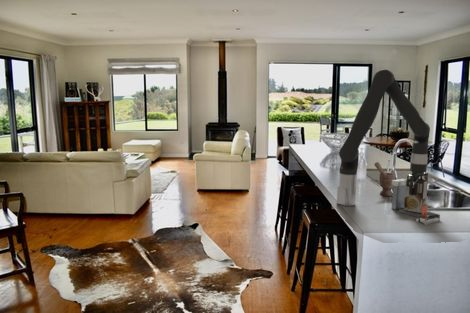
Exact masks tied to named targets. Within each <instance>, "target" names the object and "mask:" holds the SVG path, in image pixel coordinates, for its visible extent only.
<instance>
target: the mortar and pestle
mask: <svg viewBox="0 0 470 313" xmlns="http://www.w3.org/2000/svg"><path fill="white" fill-rule="evenodd" d="M374 167H375V168H376V169H377V171H378V172H379V184H380V187H381V188H382V190H380V193H379V195H380V196H382V197H392V195H393V191H391V189H393V185H392V180H396V174H395V173H393V172H385V171H384V169H383V168H382V165H381V164H380V163H379V162H377V161H376V162H375V163H374Z"/></svg>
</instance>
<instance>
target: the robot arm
mask: <svg viewBox="0 0 470 313" xmlns="http://www.w3.org/2000/svg"><path fill="white" fill-rule="evenodd" d="M385 94H387V95H388V96H389V98H390V99H391V101H392V103H394V106H395V107H396V109H397V111H398V112H399V114H400V115H401V116H402V118H403V119H404V121H406V123H407V124H408V126H409V128H410V130H411V131H412V133H413V143H412V150H411V155H410V164H409V166H410V167H409V170H410V172H411V174H407V178H406V179H407V185H406V186H408V187H409V195H414V187H415V185H416V184H417V182H418V181H419V180H428V177H429V173H428V172H427V169H428V159H429V158H428V155H429V154H428V153H429V152H428V150H429V138H430V130H431V128H430V124H428V123H426V122H425V121H424V120H423V118H422V117H421V115H420V113H419V111H418V110H417V108H416V107H415V106H414V104H413V103H412V101H410V99H409V98H408V97H407V96H406V94H405V93H404V92H403V91H402V89H401V87H400V85H399V84H398V82H397V80H396V78H395V75H394V74H393V72H392V71H391V70H389V69H385V68H383V69H382V68H381V69H379V70H378V71H377V72H375V74H374V76H373V79H372V81H371V84H370V86H369V89H368V92H367V95H366V96H365V98H364V100H363V101H362V103H361V105H360V107H359V109H358V112H357V114H356V115H355V118H354V120H353V123H352V125H351V128H350V131H349V133H348V136H347V138H346V139H345V141H344V142H343V144H342V146H341V148H340V149H339V154H338V155H339V158H340V160H341V161H340V166H339V170H338V171H339V174H338V178H339V179H338V186H337V187H336V188H337V190H336V204H338V205H342V206H344V207H346V206H348V207H351V206H352V207H353V206H355V205H356V195H357V178H358V177H357V176H358V168H359V159H360V158H359V156H360V152H359V149H360V145H361V143H362V141H363V139H364V138H365V136H367V134H368V133H369V131H370V129H371V128H372V125H373V124H374V122H375V120H376V118H377V115H378V112H379V110H380V105H381V101H382V98H383V97H384V95H385ZM413 181H415V182H413ZM428 181H429V180H428ZM409 182H410V184H409ZM412 184H413V185H412Z"/></svg>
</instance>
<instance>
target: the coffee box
mask: <svg viewBox="0 0 470 313" xmlns="http://www.w3.org/2000/svg"><path fill="white" fill-rule="evenodd" d="M413 182H415V181H413ZM409 184H410V182H409ZM428 184H429V180H425V179H424V180H419V181H418V182H417V184H416V185H415V187H414V195H409V187H408V186H406V185H407V180H406V185H405V201H404V208H403V209H404V210H407V211H412V212H418V213H421V212H422V205H426V206H427V199H428V186H429V185H428ZM412 185H413V184H412Z"/></svg>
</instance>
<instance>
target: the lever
mask: <svg viewBox="0 0 470 313" xmlns="http://www.w3.org/2000/svg"><path fill="white" fill-rule="evenodd" d="M428 207H429V206H428V205H427V204H426V205H422V212H421V218H420V217H419V218H420V222H419V223H423V224H424V221H426V220H427V211H428Z"/></svg>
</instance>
